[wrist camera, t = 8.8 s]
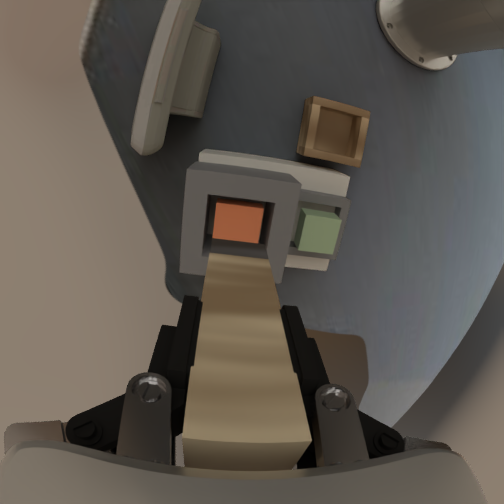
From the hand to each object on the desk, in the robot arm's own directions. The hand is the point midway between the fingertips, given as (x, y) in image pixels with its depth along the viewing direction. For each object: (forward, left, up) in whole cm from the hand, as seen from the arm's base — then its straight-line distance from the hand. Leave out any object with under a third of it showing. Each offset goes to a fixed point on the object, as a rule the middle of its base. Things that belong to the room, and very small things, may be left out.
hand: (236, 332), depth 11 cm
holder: (-9, +9, -22) cm, 25 cm away
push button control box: (0, +3, -22) cm, 22 cm away
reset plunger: (0, 0, -14) cm, 14 cm away
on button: (0, +7, -15) cm, 17 cm away
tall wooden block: (0, 0, -6) cm, 6 cm away
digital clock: (-13, -8, -22) cm, 27 cm away
